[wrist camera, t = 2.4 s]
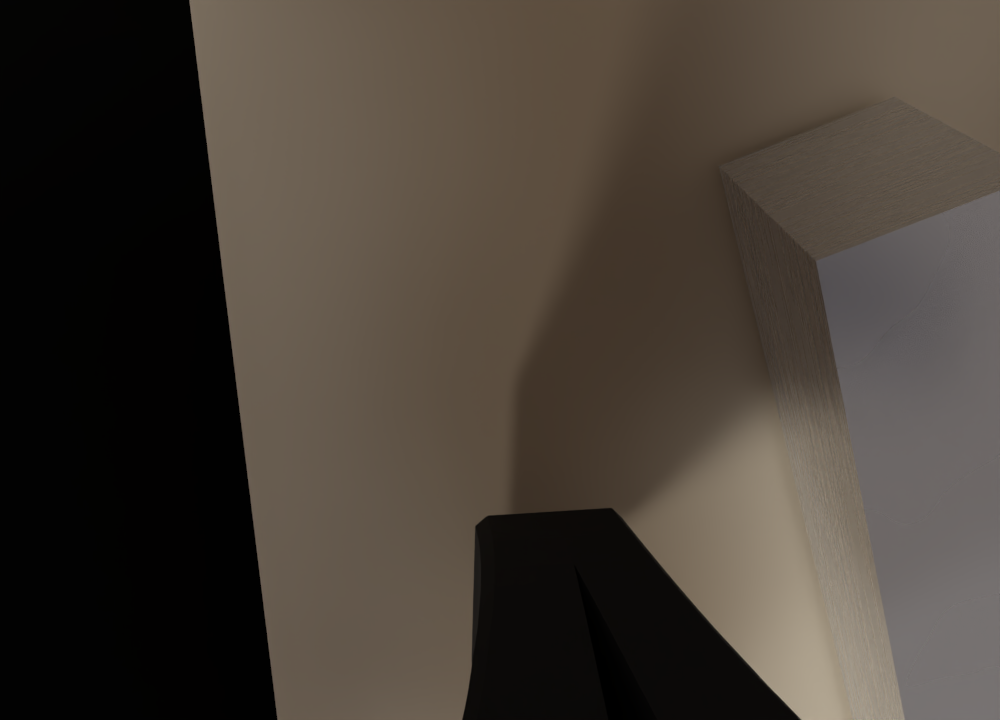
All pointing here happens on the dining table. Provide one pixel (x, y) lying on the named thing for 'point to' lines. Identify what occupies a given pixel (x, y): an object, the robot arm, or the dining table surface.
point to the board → (525, 303)
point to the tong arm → (888, 392)
